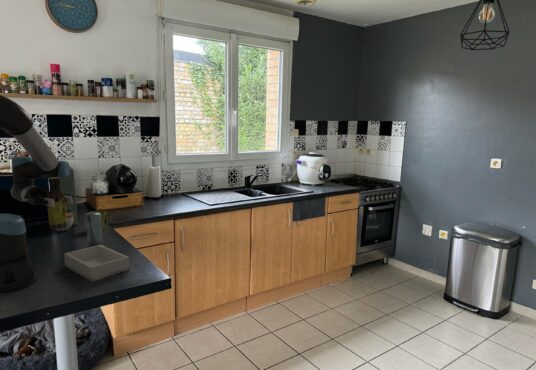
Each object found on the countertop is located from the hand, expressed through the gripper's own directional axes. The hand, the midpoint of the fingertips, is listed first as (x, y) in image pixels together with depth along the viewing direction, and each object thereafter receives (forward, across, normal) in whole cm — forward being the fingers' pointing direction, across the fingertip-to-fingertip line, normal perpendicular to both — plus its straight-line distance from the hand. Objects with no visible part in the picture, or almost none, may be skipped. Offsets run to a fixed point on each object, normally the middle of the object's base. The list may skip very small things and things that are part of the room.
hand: (62, 201), depth 144 cm
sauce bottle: (-5, 0, -11) cm, 12 cm away
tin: (-8, -16, -24) cm, 30 cm away
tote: (+16, -3, -24) cm, 29 cm away
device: (-60, -31, -24) cm, 72 cm away
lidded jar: (-48, -22, -24) cm, 58 cm away
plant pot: (-34, -32, -24) cm, 53 cm away
